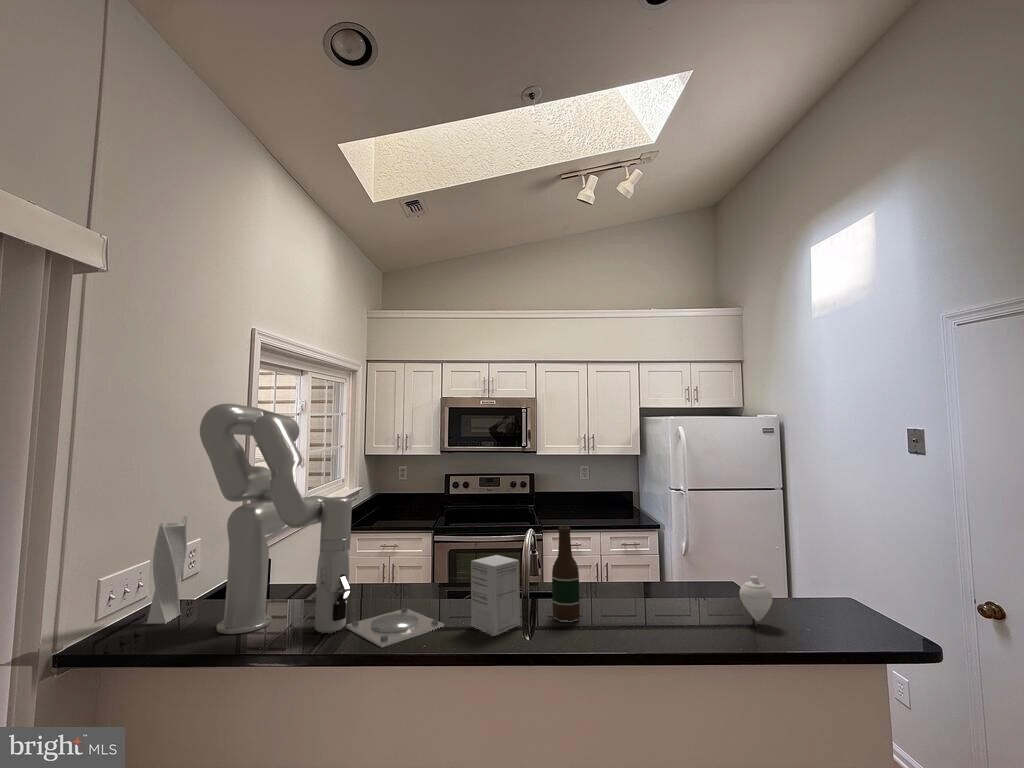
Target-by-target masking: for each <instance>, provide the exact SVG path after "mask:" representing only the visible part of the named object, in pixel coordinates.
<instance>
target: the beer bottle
mask: <svg viewBox="0 0 1024 768" xmlns="http://www.w3.org/2000/svg"><path fill="white" fill-rule="evenodd" d="M557 532H558V552H557V557H556V559H555V561H554V563H553V565H552V566H553V567H552V570H551V571H552V572H551V574H552V575H551V588H552V589H551V593H552V595H551V596H552V618H553V617H555V618H557V619H559V620H568V621H572V620H575V619H579V620H580V618H579V617H580V615H581V612H580V611H581V607H580V605H581V603H580V601H581V599H580V597H581V596H580V572H579V566H578V563H577V562H576V560H575V558H574V557H573V553H572V552H573V551H572V544H571V543H572V542H571V532H572V529H571V527H570V526H566V525H565V526H559V527H558V529H557Z"/></svg>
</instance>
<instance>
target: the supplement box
mask: <svg viewBox="0 0 1024 768" xmlns="http://www.w3.org/2000/svg"><path fill="white" fill-rule="evenodd" d="M470 575H471V576H470V579H471V580H470V590H471V591H470V594H471V595H470V596H471V597H470V598H471V599H470V601H471V602H470V603H471V606H470V609H471V611H470V612H471V613H470V614H471V615H470V617H471V620H470V621H471V623H470V624H471V625H470V627H471V626H472V627H474V628H476V629H479V630H481V631H483V632H486V633H488V634H490V635H489V636H491V635H492V636H491V637H493V636H496V635H498V636H500V635H499V634H501V633H502V632H505V631H507V630H509V629H512V628H514V627H516V626H518V625H520V626H521V611H520V609H521V606H520V605H521V603H520V601H521V600H520V599H521V597H520V560H519V559H516V558H511V557H506V556H504V555H498V554H495V555H490V556H485V557H481V558H477V559H473V560H471V561H470ZM476 629H475V630H476ZM481 631H480V632H481ZM483 632H482V633H483ZM486 633H485V634H486ZM488 634H487V635H488ZM501 635H502V634H501ZM496 637H497V636H496Z"/></svg>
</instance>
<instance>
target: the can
mask: <svg viewBox="0 0 1024 768" xmlns="http://www.w3.org/2000/svg"><path fill="white" fill-rule="evenodd" d="M319 584H320V585H319V586H318V588H317V587H316V593H315V595H316V596H315V597H316V598H315V617H314V618H315V619H314V629H315V630H316V631H317V632H318V633H319V632H321V633H320V634H323V633H328V634H334V633H337V632H336V631H338V632H339V630H340V631H341V630H343V628H344V627H346V625H347V624H346V623H347V617H346V618H345V619H342V620H338V621H333V604H335V600H334V592H333V594H328V593H327V589H326V584H322V583H321V582H320V583H319ZM338 590H342V587H339V588H337V591H338ZM341 594H342V593H338V598H339V596H340V595H341ZM347 603H348V601H347V602H346V606H347ZM333 632H334V633H333Z"/></svg>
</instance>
